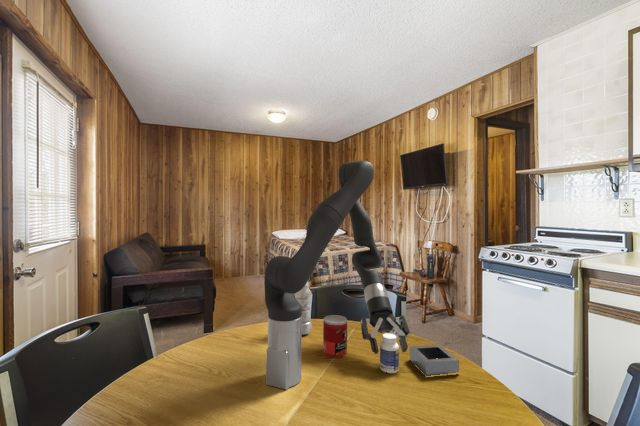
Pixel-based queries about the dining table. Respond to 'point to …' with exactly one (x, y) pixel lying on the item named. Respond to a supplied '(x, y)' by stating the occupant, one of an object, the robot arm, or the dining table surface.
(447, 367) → the socket cup
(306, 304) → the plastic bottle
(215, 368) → the dining table surface
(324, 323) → the canned food
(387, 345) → the pill bottle
